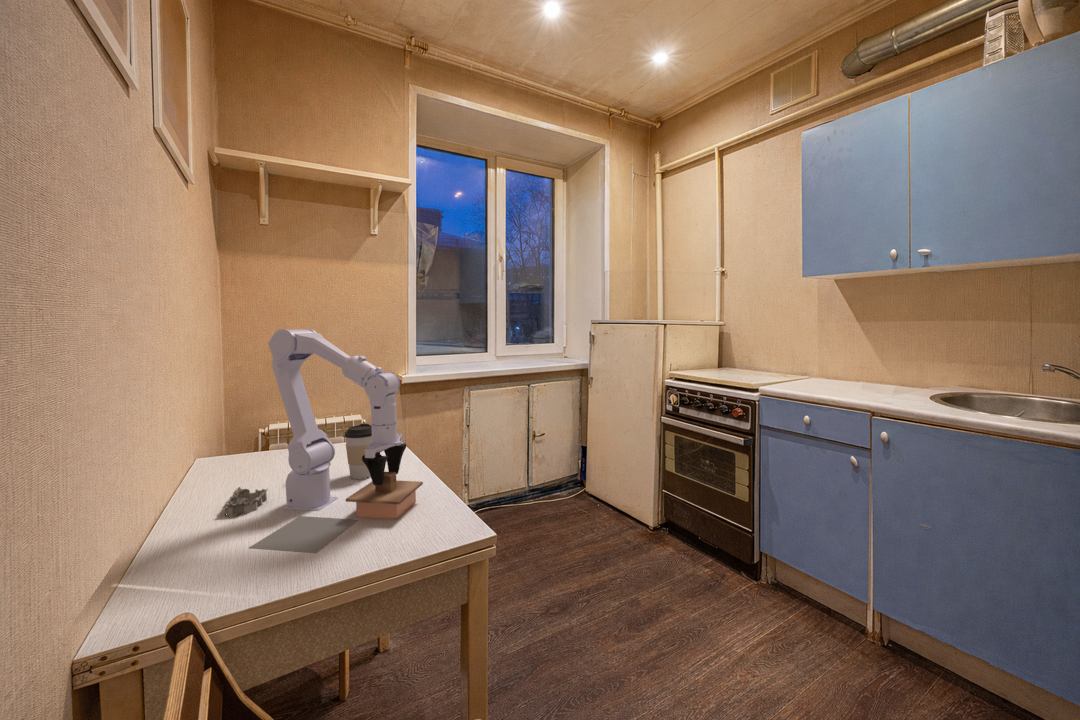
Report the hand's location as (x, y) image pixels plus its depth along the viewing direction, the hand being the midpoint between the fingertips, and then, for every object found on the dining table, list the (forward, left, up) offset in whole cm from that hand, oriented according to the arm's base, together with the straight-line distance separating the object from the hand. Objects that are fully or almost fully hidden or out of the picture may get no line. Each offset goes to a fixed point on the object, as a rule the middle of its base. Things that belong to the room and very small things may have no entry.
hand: (386, 478), depth 107 cm
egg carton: (-36, -3, -8) cm, 37 cm away
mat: (-11, -14, -8) cm, 19 cm away
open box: (0, 0, -8) cm, 8 cm away
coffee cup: (-20, +23, -8) cm, 31 cm away
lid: (0, 0, -3) cm, 3 cm away
